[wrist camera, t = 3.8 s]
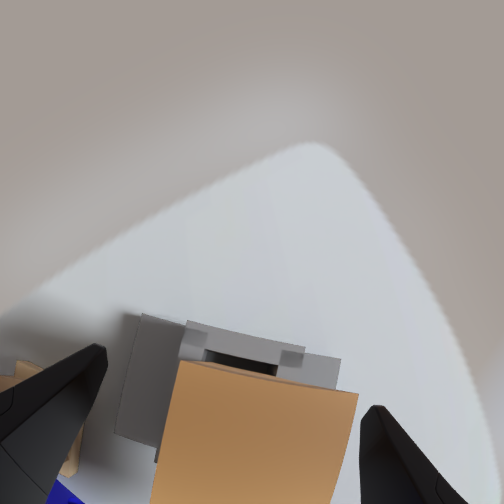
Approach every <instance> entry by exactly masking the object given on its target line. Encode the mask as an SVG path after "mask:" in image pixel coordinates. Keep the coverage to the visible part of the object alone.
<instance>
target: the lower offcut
mask: <svg viewBox="0 0 504 504" xmlns="http://www.w3.org/2000/svg"><path fill="white" fill-rule="evenodd" d="M42 370H44V369H42V368H40V367H38V366H36V365H34V364H33V363H31V362H29V361H20V360H17V362H16V368H15V373H14V377H20V378H26V379H27V378H29V377H31V376H33V375H35V374H37V373H39V372H41V371H42ZM83 427H84V423H83V425H82V427H81V429H80V431H79V433H78V435H77V437H76V439H75V441H74V443H73V445H72V447H71V449H70V451H69V453H68V457H69V460H68V461H66V462H64V463H63V465H62V467H61V469H60V472H59V473H60V474H61V475H63V476H65V477H67V478H69V477H71V476H72V475H74V474H76V473H77V472H78V464H79V456H80V448H81V440H82V434H83Z"/></svg>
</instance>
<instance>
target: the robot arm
mask: <svg viewBox="0 0 504 504" xmlns="http://www.w3.org/2000/svg"><path fill="white" fill-rule="evenodd" d="M107 368H108V360H107V352H106V348H105V347H104V346H102V345H99V344H96V343H94V344H91V345H89V346H87V347H86V348H84V349H82V350H80V351H78V352H76V353H74V354H73V355H71V356H69V357H67V358H65V359H63V360H61V361H59V362H58V363H56V364H54V365H52V366H50V367H48V368H46V369H44V370H42V371H41V372H39V373H37V374H35V375H33V376H31V377H29V378H27V379H26V380H24V381H22V382H20V383H18V384H16V385H15V386H12V387H10V388H8V389H6V390H5V391H2V392H0V504H45V503H46V500H47V498H48V495H49V493H50V491H51V489H52V487H53V484H54V482H55V480H56V478H57V476H58V474H59V472H60V469H61V467H62V465H63V463H64V461H65V459H66V457H67V455H68V453H69V451H70V449H71V447H72V445H73V443H74V441H75V439H76V437H77V435H78V433H79V431H80V429H81V427H82V425H83V423H84V421H85V419H86V418H87V416H88V414H89V412H90V410H91V408H92V406H93V404H94V401H95V399H96V396H97V393H98V391H99V388H100V386H101V383H102V381H103V378H104V376H105V373H106V371H107ZM359 470H360V490H361V504H468V503H467V502H466V501H465V500H464V499H463V498H462V497H461V496H460V495H459V494H458V493H457V492H456V491H455V490H454V489H453V488H452V487H451V486H450V484H449V483H448V482H447V481H446V480H445V479H444V477H443V476H442V475H441V474H440V473H438V470H437V469H436V468H435V467H434V465H433V464H432V463H431V462H430V461H429V459H428V458H427V457H426V456H425V455H424V453H423V452H422V451H421V450H420V449H419V447H418V446H417V445H416V444H415V443H414V441H413V440H412V439H411V438H410V436H409V435H408V434H407V433H406V432H405V430H404V429H403V428H402V427H401V426H400V424H399V423H398V422H397V421H396V420H395V418H394V417H393V416H392V415H391V414H390V412H389V411H388V410H387V409H386V408H385V407H384V406H382V405H373V406H371V407H370V409H369V410H368V411H367V413H366V414H365V415H364V417H363V418H362V420H361V424H360V449H359Z"/></svg>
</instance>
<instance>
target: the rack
mask: <svg viewBox="0 0 504 504" xmlns="http://www.w3.org/2000/svg"><path fill="white" fill-rule="evenodd" d="M304 352H305V347H303V346H298V345H293V344H288V343H283V342H278V341H273V340H268V339H264V338H259V337H254V336H250V335H246V334H241V333H237V332H233V331H228V330H224V329H220V328H216V327H212V326H208V325H204V324H200V323H196V322H193V321H189V320H187V323H186V326H184V325H181V324H177V323H174V322H170V321H166V320H163V319H159V318H156V317H153V316H149V315H146V314H143V313H142V316H141V319H140V323H139V326H138V330H137V334H136V337H135V341H134V345H133V349H132V353H131V357H130V361H129V365H128V369H127V373H126V378H125V382H124V386H123V391H122V395H121V400H120V405H119V409H118V414H117V419H116V424H115V430H114V433H115V434H118V435H120V436H123V437H126V438H128V439H131V440H134V441H137V442H140V443H143V444H146V445H149V446H152V447H155V448H157V450H156V455H155V460H154V462H155V463H157V462H158V457H159V452H160V448H161V443H162V438H163V434H164V429H165V424H166V420H167V415H168V411H169V406H170V402H171V398H172V393H173V389H174V385H175V381H176V377H177V372H178V368H179V364H180V360H185V361H202V362H214V363H218V364H222V365H227V366H231V367H235V368H240V369H245V370H249V371H254V372H259V373H263V374H267V375H271V376H275V377H279V378H283V379H287V380H291V381H296V382H300V383H305V384H309V385H314V386H319V387H324V388H329V389H334V390H335V389H336V384H337V379H338V374H339V369H340V363H341V359H339V358H332V357H326V356H320V355H315V354H309V353H304Z"/></svg>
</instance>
